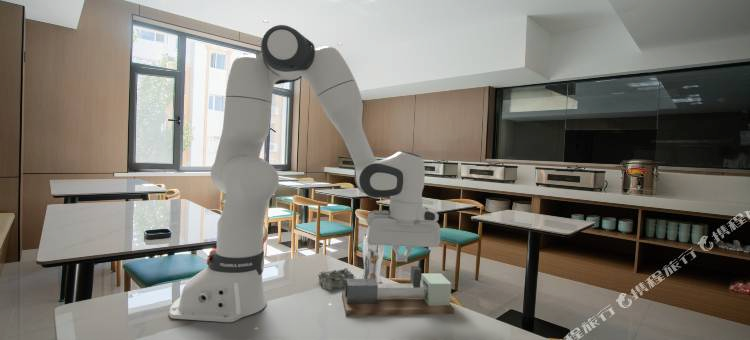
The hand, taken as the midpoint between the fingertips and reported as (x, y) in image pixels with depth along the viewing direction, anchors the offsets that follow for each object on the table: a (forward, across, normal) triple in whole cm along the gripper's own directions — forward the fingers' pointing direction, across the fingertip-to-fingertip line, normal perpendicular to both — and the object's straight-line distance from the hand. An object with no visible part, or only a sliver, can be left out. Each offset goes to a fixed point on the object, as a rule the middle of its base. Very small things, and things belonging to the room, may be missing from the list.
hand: (401, 261), depth 100 cm
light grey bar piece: (+10, +1, 0) cm, 10 cm away
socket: (+12, +11, 0) cm, 16 cm away
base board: (+12, 0, 0) cm, 12 cm away
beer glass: (+12, -4, +18) cm, 23 cm away
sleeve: (+11, -10, 0) cm, 15 cm away
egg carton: (+13, -16, +17) cm, 26 cm away
